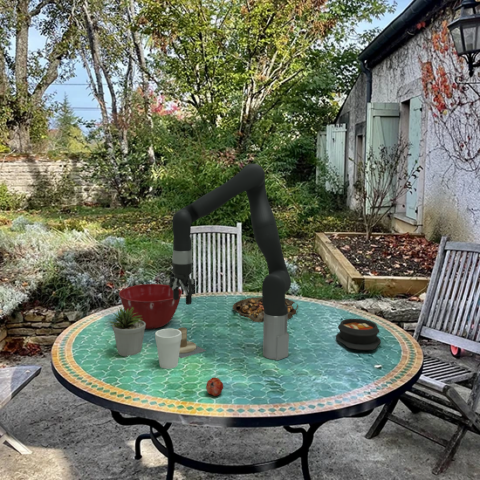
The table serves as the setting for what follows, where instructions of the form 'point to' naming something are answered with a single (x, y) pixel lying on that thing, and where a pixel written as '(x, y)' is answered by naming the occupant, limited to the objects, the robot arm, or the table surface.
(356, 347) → the casserole
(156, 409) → the table surface
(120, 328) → the potted plant
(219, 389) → the pomegranate
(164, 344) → the foam cup
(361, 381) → the table surface
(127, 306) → the mixing bowl
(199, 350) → the mat
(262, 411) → the table surface
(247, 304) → the food dish
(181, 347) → the lid
